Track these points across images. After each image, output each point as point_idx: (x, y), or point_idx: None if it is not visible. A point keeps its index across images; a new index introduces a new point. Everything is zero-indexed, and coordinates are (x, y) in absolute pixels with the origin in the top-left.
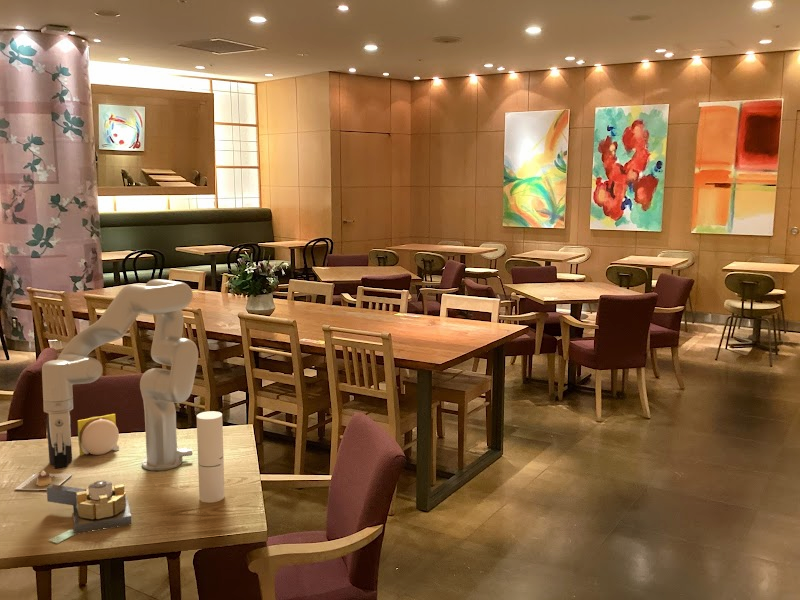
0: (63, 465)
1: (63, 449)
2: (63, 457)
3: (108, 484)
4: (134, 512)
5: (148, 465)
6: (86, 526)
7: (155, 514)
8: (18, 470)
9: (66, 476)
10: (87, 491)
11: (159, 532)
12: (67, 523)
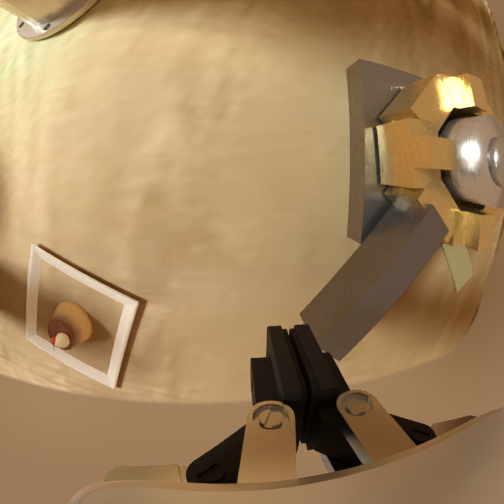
0: (328, 352)
1: (431, 435)
2: (349, 389)
3: (498, 130)
4: (407, 72)
5: (73, 9)
6: None
7: (426, 41)
8: (14, 361)
9: (39, 260)
10: (436, 200)
11: (488, 77)
12: None
